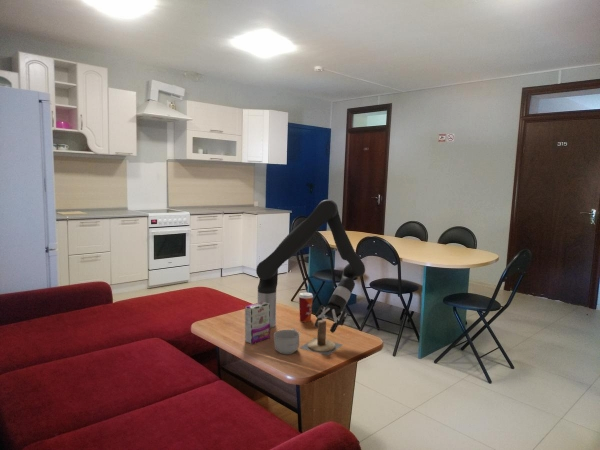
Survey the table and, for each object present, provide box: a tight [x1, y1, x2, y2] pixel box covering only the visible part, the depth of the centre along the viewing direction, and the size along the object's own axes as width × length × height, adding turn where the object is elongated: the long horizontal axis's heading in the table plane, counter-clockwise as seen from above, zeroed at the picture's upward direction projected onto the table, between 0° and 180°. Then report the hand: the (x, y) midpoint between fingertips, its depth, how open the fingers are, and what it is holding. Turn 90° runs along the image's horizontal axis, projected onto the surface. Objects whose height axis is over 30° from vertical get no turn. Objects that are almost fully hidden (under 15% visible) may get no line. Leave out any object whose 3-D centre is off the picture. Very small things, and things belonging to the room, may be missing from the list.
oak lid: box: [307, 319, 336, 352], centre depth 174 cm, size 12×12×11 cm
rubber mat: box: [299, 337, 343, 356], centre depth 174 cm, size 14×14×1 cm
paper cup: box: [298, 292, 314, 323], centre depth 209 cm, size 8×8×14 cm
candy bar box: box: [244, 302, 271, 345], centre depth 180 cm, size 11×5×16 cm, turn 137°
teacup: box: [273, 328, 300, 355], centre depth 170 cm, size 14×11×8 cm
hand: (323, 329), depth 175 cm, fingers open, 8 cm apart
